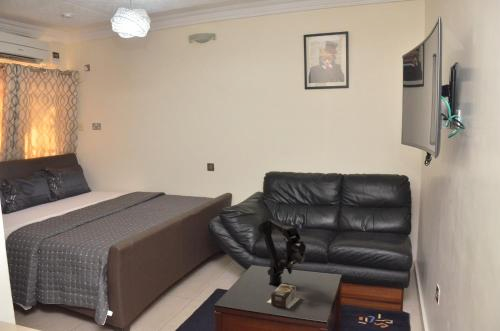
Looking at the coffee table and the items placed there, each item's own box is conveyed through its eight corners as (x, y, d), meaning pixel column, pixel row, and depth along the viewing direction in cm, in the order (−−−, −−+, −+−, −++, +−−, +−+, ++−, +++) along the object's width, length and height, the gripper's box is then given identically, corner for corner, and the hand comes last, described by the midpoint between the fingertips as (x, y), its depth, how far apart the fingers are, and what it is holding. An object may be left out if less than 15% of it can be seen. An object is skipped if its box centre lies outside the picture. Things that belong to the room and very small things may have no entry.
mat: (266, 302, 221) (266, 301, 221) (277, 293, 233) (277, 293, 233) (289, 308, 214) (289, 307, 214) (299, 298, 225) (299, 298, 225)
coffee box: (296, 285, 227) (286, 297, 213) (295, 296, 228) (286, 308, 213) (281, 283, 231) (270, 293, 217) (281, 293, 232) (270, 304, 217)
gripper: (295, 255, 220) (295, 282, 222) (309, 246, 236) (309, 271, 238) (278, 251, 226) (278, 278, 228) (292, 243, 242) (292, 267, 244)
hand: (290, 273), depth 234 cm, fingers closed
